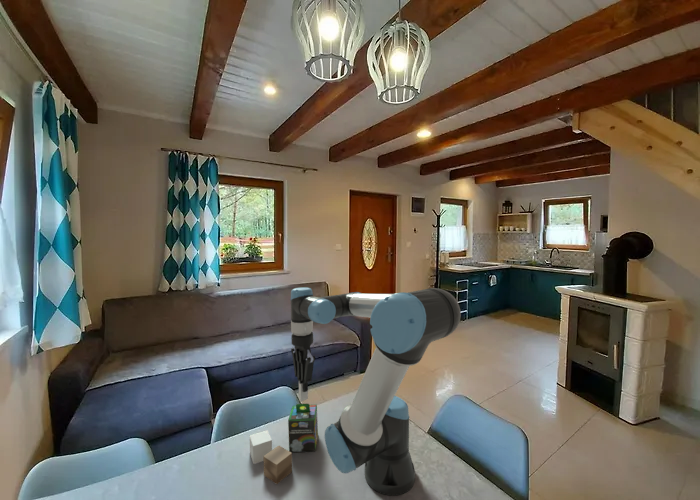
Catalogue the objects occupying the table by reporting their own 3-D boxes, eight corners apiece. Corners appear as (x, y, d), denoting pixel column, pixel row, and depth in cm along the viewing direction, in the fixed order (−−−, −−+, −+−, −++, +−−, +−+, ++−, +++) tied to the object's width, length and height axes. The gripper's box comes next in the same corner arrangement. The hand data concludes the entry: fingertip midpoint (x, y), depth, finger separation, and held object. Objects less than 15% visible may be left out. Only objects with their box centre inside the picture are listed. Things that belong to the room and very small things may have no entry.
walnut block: (292, 472, 92) (291, 452, 92) (276, 484, 87) (276, 464, 87) (279, 463, 96) (278, 445, 96) (263, 475, 91) (263, 456, 91)
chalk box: (318, 434, 110) (317, 395, 109) (315, 452, 101) (315, 409, 100) (292, 435, 110) (292, 395, 109) (288, 452, 100) (287, 409, 100)
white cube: (272, 457, 98) (271, 440, 98) (253, 464, 95) (253, 446, 95) (267, 446, 104) (267, 429, 103) (249, 452, 101) (249, 435, 101)
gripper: (321, 334, 101) (322, 403, 102) (302, 326, 111) (303, 389, 112) (302, 339, 97) (303, 411, 97) (283, 330, 107) (285, 395, 107)
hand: (303, 399), depth 105 cm, fingers closed
